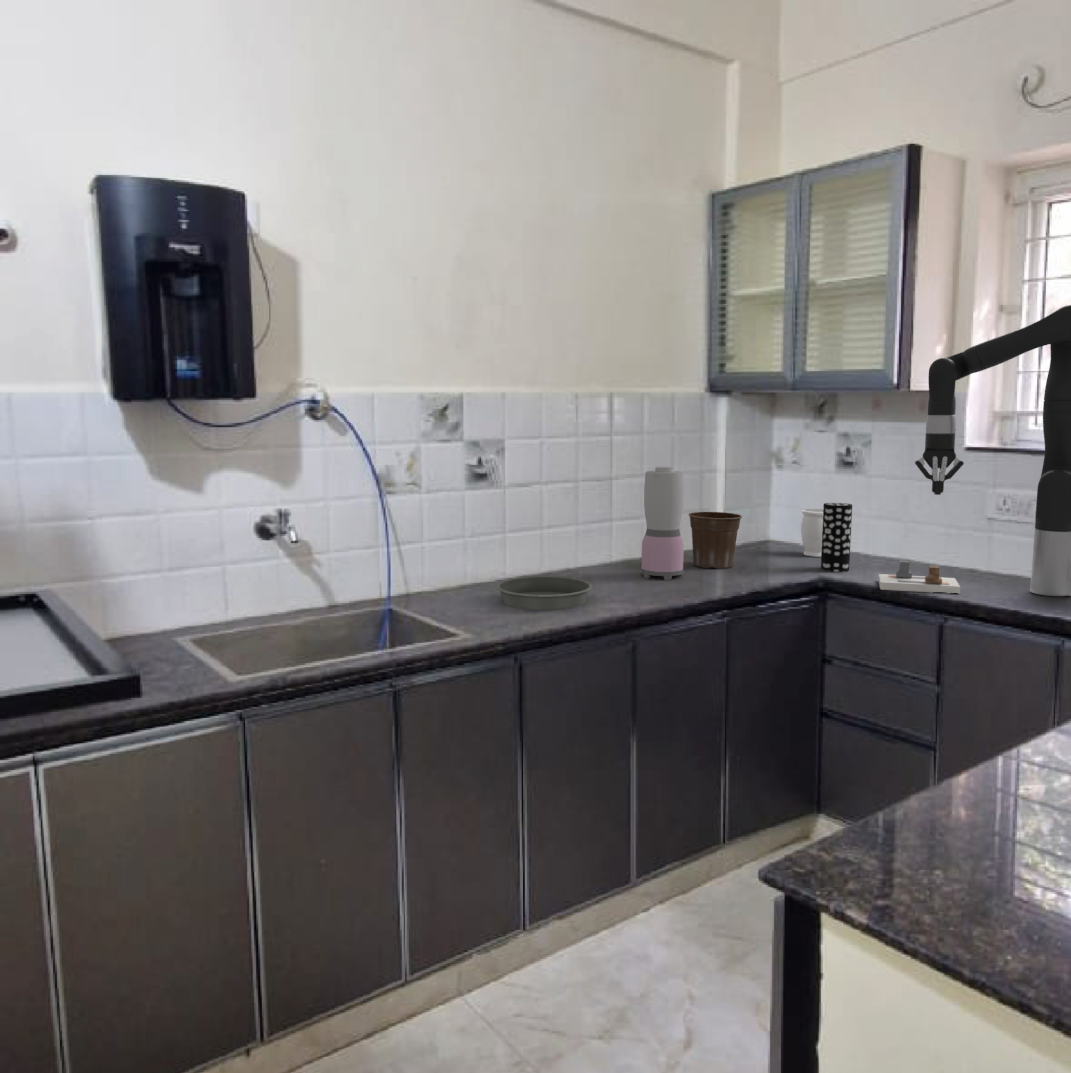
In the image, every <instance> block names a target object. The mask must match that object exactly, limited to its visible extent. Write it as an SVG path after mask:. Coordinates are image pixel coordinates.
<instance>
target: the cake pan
mask: <svg viewBox="0 0 1071 1073" xmlns="http://www.w3.org/2000/svg"><path fill="white" fill-rule="evenodd" d="M495 587H496V589H497V590H498V591H499V592H500V595H501V598H502V602H503V604H505V605H507V606H509V607H512V608H515V609H516V608H517V609H523V610H531V611H532V610H533V611H554V610H555V611H556V610H566V609H573V608H577V607H580V606H582V605H584V604H585V603H586V602H587V596H588V593H589V591H591V589H592V588H593V585H592V584H591V583H590V582H588V581H586V580H583V579H579V578H573V577H567V576H553V575H552V576H551V575H535V576H520V577H519V576H518V577H515V578H509V579H505V580H502V581H500V582H498V583H497V584H496V586H495Z"/></svg>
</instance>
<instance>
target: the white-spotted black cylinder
mask: <svg viewBox="0 0 1071 1073" xmlns="http://www.w3.org/2000/svg"><path fill="white" fill-rule="evenodd" d="M822 509H823V528H822V550H821V557H820V570H821V571H825V572H832V573H833V572H835V573H844V572H845V571H846V572H848V571H850V559H851V558H850V557H851V542H852V540H851V539H852V519H853V518H852V517H853V504H851V503H845V502H827V503H826V502H825V503H823V507H822Z"/></svg>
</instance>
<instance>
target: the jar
mask: <svg viewBox="0 0 1071 1073" xmlns="http://www.w3.org/2000/svg"><path fill="white" fill-rule="evenodd" d="M801 513H802V515H803V517H802V520H801V527H800V529H801V530H800V532H801V543H802V546H803V549H804V551H803V555H804V556H806V557H812V558H813V557H814V558H821V550H822V528H823V508H822V509H821V508H810V509H802V510H801Z"/></svg>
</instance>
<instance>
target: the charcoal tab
mask: <svg viewBox="0 0 1071 1073" xmlns="http://www.w3.org/2000/svg"><path fill="white" fill-rule="evenodd" d="M898 565H899V566H898V570H895V575H896V577H909V578H912V576H913V573H912V571H911V570H910V561H909V560H900V559H899V564H898Z"/></svg>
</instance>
